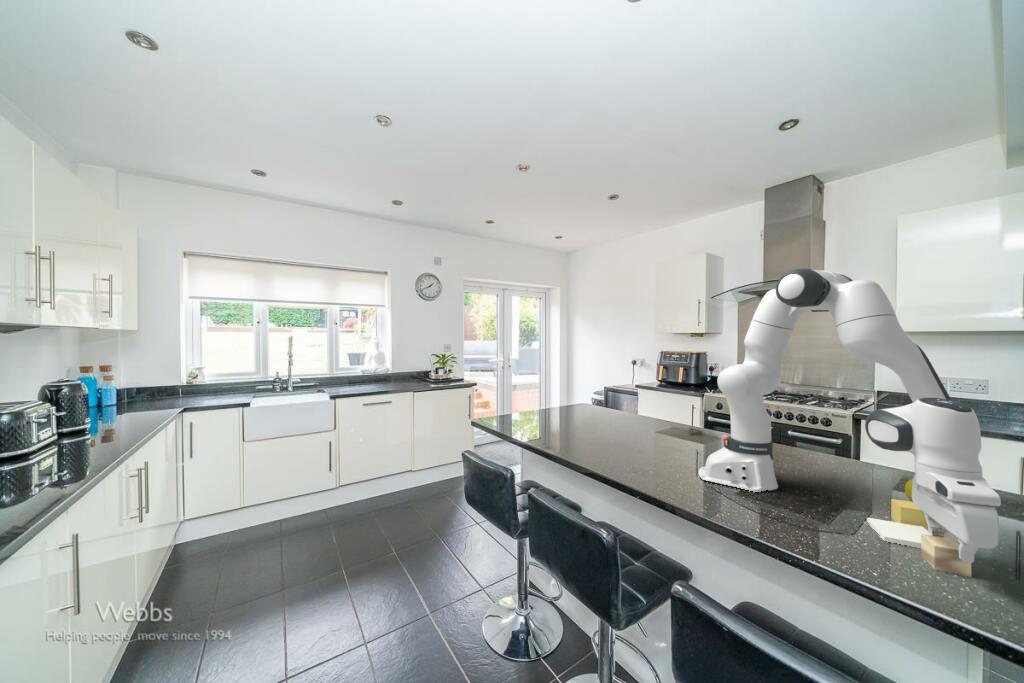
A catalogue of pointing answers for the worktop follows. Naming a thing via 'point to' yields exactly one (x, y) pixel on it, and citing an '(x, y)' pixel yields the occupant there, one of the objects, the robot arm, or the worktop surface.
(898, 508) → the mustard brick
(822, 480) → the worktop surface
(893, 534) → the plate
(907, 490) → the lemon
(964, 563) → the beech brick
